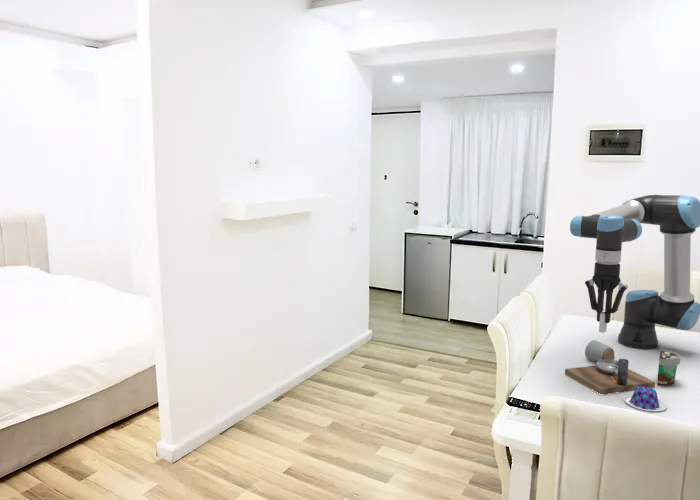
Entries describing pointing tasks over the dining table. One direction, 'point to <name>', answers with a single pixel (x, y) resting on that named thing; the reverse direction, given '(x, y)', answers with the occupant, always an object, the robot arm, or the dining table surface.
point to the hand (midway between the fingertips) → (602, 331)
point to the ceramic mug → (598, 351)
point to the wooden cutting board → (607, 380)
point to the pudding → (645, 399)
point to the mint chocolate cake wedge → (667, 367)
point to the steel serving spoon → (615, 369)
